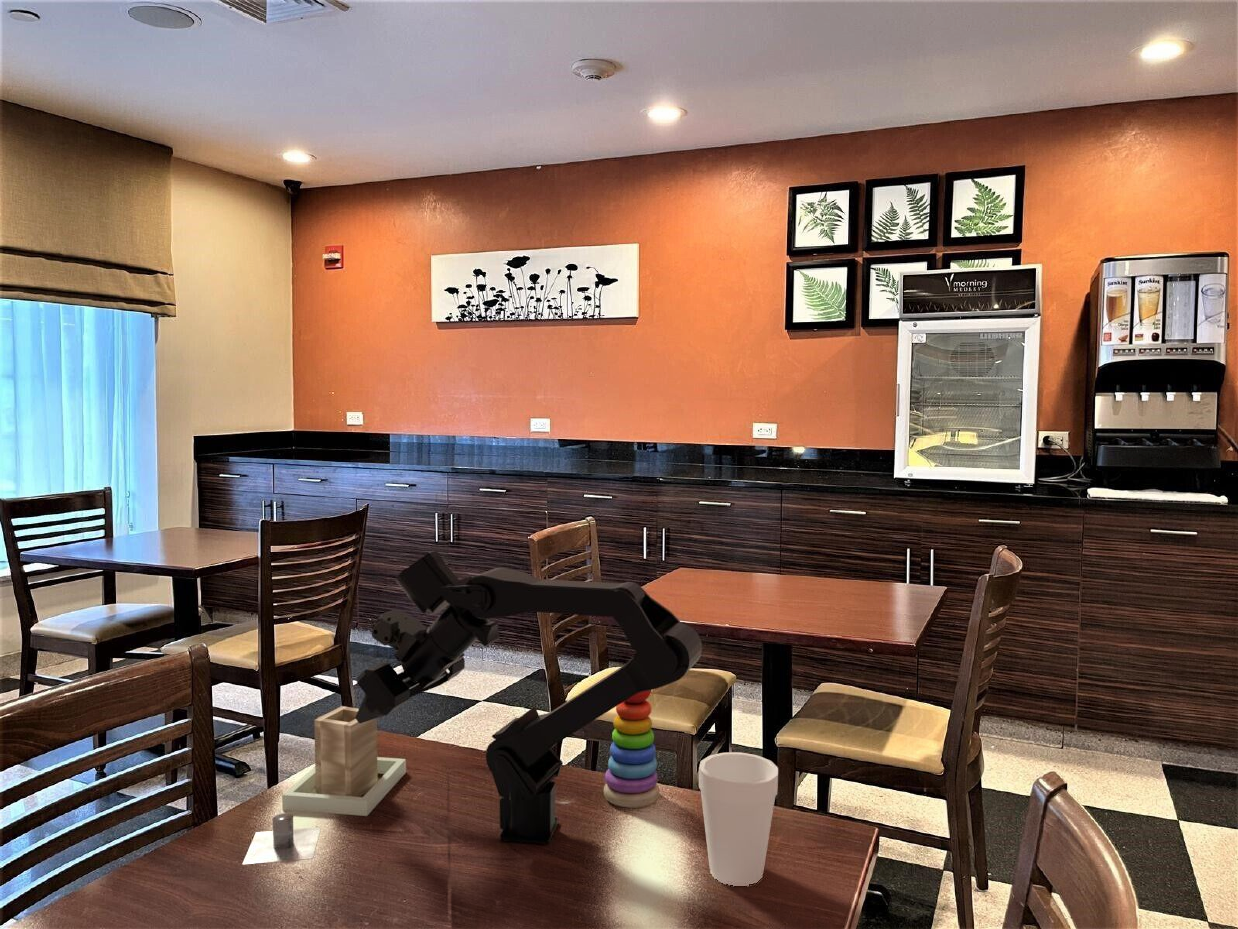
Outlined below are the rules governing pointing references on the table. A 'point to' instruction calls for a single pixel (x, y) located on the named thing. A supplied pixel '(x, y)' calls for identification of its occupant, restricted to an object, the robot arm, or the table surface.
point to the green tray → (306, 801)
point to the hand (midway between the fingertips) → (378, 709)
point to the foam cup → (737, 814)
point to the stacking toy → (632, 756)
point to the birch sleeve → (345, 753)
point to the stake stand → (282, 842)
